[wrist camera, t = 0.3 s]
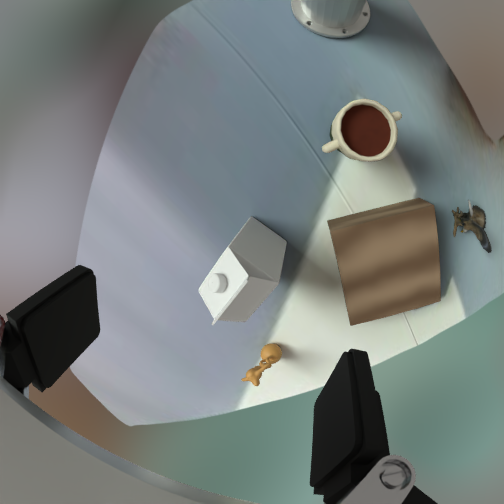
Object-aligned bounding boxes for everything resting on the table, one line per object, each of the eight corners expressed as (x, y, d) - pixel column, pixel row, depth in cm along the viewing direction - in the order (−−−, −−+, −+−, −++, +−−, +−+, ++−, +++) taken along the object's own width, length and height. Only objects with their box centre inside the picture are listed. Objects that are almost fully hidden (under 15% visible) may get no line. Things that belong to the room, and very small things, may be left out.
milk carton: (287, 241, 46) (276, 300, 29) (262, 272, 49) (238, 341, 31) (251, 215, 46) (217, 259, 28) (228, 248, 48) (185, 306, 31)
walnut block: (327, 220, 44) (330, 231, 38) (419, 197, 39) (434, 205, 34) (346, 306, 48) (350, 325, 43) (428, 284, 44) (440, 300, 38)
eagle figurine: (443, 243, 40) (482, 259, 38) (461, 230, 33) (503, 248, 31) (447, 204, 41) (485, 220, 39) (464, 186, 35) (504, 206, 32)
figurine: (264, 362, 56) (254, 405, 45) (243, 345, 55) (229, 387, 44) (295, 342, 53) (290, 387, 42) (273, 323, 52) (264, 367, 41)
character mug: (329, 171, 41) (340, 180, 29) (307, 130, 39) (308, 121, 27) (389, 142, 37) (422, 140, 26) (368, 100, 36) (392, 83, 24)
